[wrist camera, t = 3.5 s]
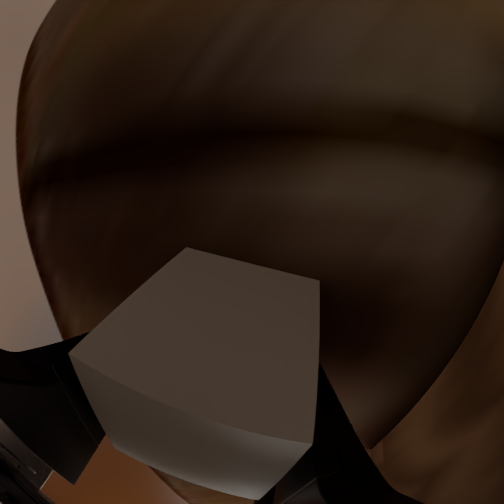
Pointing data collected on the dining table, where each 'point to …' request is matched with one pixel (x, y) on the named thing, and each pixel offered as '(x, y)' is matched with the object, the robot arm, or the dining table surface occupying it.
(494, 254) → the dining table surface
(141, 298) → the grey block
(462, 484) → the box frame
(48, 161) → the dining table surface
